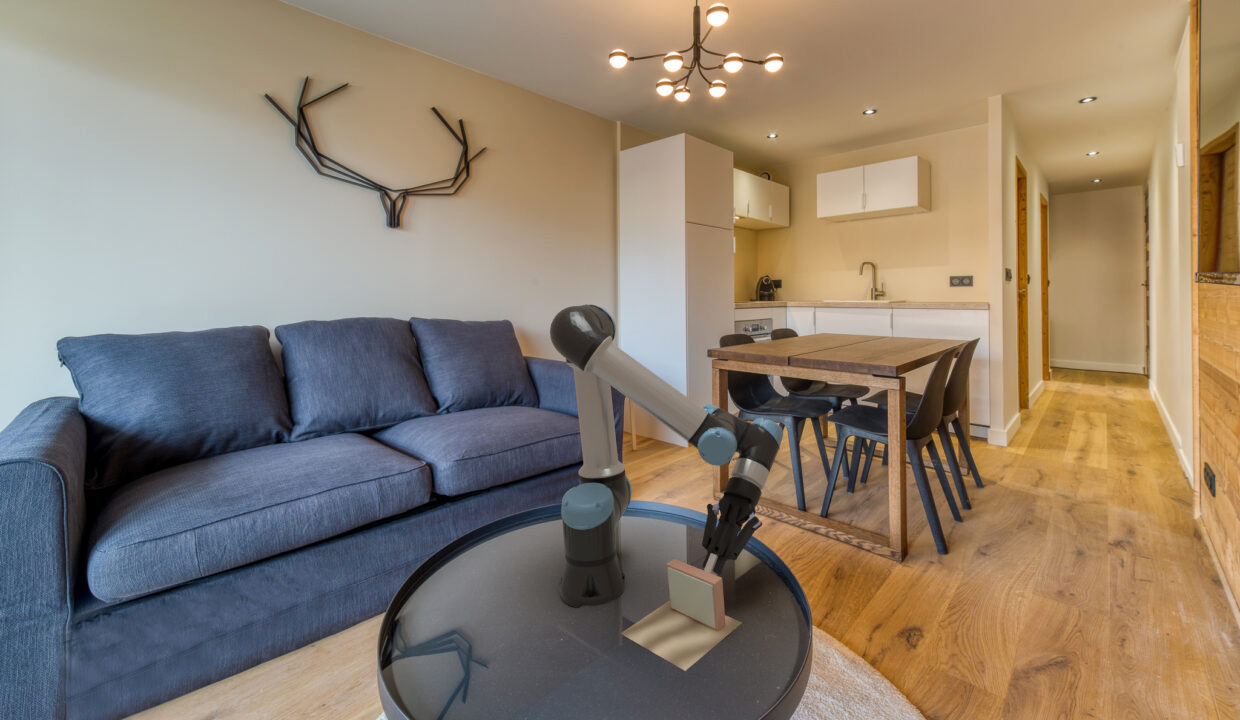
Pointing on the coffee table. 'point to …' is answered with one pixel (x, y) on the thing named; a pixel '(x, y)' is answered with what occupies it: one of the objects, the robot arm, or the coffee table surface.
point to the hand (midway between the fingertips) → (704, 586)
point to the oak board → (677, 635)
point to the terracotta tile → (696, 594)
